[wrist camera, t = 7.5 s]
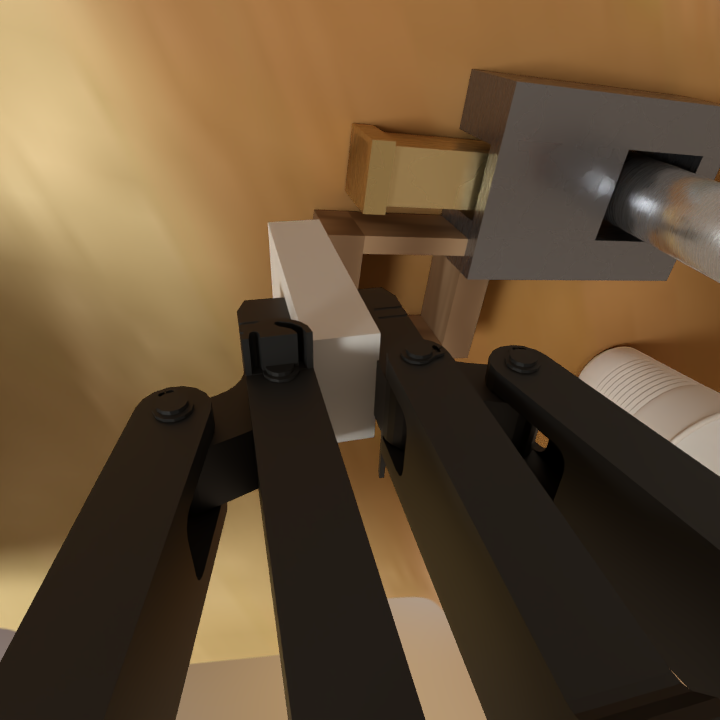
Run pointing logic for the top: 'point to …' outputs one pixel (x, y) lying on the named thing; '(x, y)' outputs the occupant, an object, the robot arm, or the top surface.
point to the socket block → (570, 175)
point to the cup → (660, 400)
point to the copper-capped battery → (669, 211)
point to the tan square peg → (413, 170)
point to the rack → (415, 237)
